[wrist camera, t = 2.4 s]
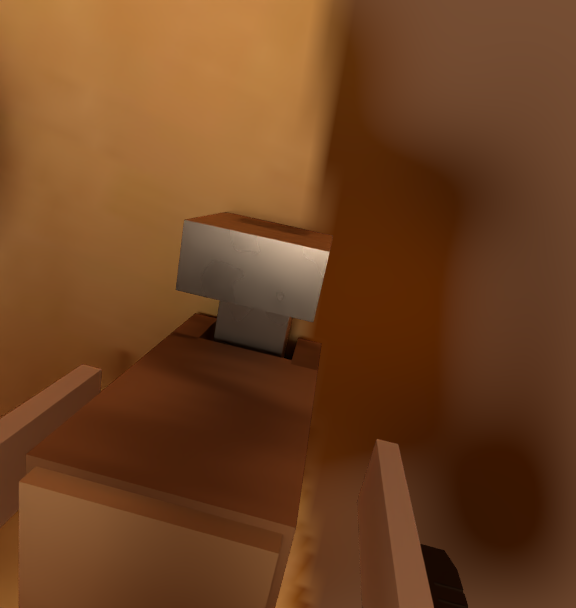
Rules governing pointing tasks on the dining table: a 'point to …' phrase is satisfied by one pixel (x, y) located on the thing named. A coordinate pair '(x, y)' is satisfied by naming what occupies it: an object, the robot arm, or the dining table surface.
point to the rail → (253, 276)
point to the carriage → (172, 481)
